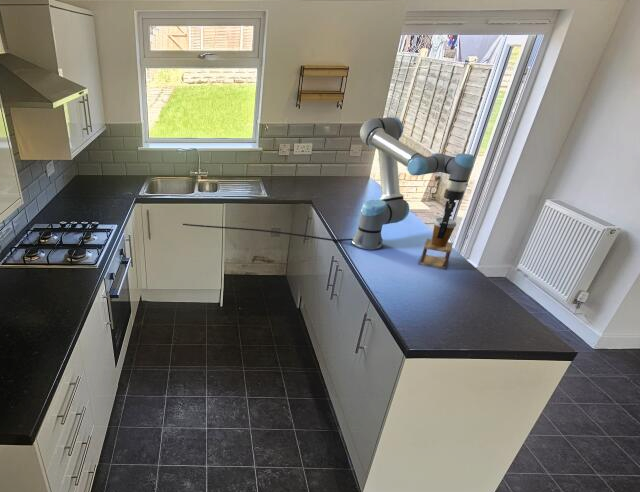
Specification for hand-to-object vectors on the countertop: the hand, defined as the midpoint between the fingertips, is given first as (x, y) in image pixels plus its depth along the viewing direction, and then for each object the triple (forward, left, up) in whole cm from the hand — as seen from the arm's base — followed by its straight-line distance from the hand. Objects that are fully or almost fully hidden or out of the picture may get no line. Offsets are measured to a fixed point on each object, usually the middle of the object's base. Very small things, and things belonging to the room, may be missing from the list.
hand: (441, 233), depth 208 cm
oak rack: (0, 0, -15) cm, 15 cm away
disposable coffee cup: (0, 0, -6) cm, 6 cm away
